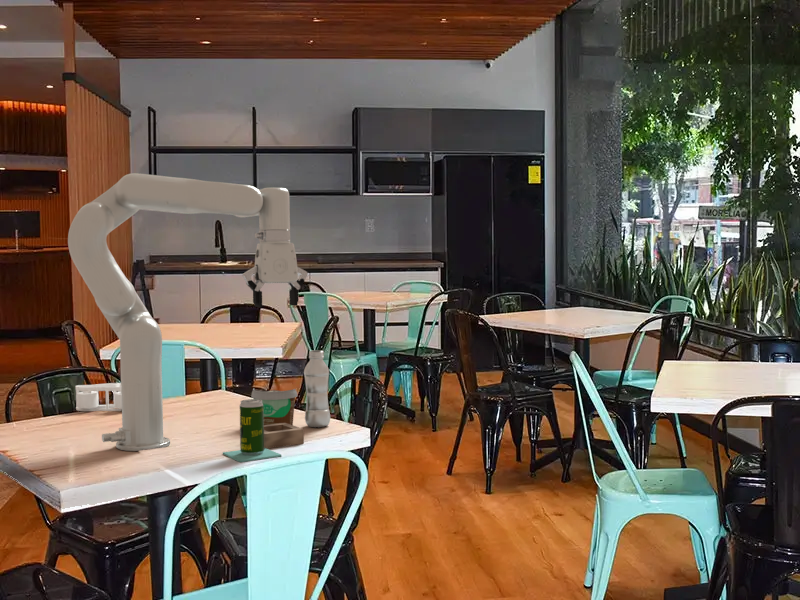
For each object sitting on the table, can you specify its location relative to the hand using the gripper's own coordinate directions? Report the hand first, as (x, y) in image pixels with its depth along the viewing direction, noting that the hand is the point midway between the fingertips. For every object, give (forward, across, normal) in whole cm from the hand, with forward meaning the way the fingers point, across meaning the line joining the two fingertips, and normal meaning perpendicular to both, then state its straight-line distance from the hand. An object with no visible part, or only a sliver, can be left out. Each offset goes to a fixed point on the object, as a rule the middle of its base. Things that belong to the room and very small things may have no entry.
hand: (276, 306), depth 240 cm
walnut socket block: (+32, -5, -9) cm, 34 cm away
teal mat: (+32, -16, -18) cm, 40 cm away
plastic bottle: (+32, +12, +2) cm, 35 cm away
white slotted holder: (+33, -25, +60) cm, 73 cm away
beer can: (+32, -15, -18) cm, 40 cm away
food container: (+32, +2, +8) cm, 34 cm away
